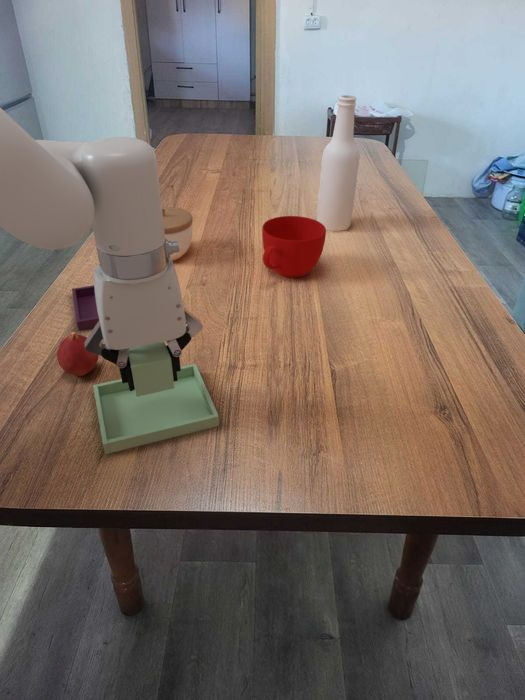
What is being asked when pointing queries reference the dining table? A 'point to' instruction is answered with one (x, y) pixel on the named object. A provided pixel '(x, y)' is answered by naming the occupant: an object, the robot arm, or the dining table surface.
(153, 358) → the sage block
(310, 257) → the ceramic cup
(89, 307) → the plum tray
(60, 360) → the red pomegranate
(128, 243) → the robot arm
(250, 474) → the dining table surface
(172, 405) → the sage tray
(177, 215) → the lidded bowl
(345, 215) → the alcohol
